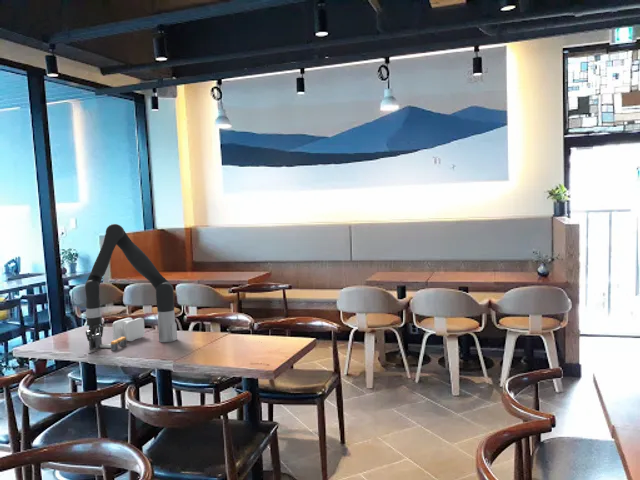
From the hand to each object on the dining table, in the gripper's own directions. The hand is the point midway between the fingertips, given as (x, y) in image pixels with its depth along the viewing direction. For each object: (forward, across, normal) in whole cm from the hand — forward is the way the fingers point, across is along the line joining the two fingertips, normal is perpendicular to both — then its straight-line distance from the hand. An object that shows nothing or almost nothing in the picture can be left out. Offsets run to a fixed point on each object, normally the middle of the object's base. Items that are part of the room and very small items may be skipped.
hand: (95, 346), depth 286 cm
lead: (+1, 0, -5) cm, 5 cm away
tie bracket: (+1, 0, -14) cm, 14 cm away
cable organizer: (+1, +19, -9) cm, 21 cm away
